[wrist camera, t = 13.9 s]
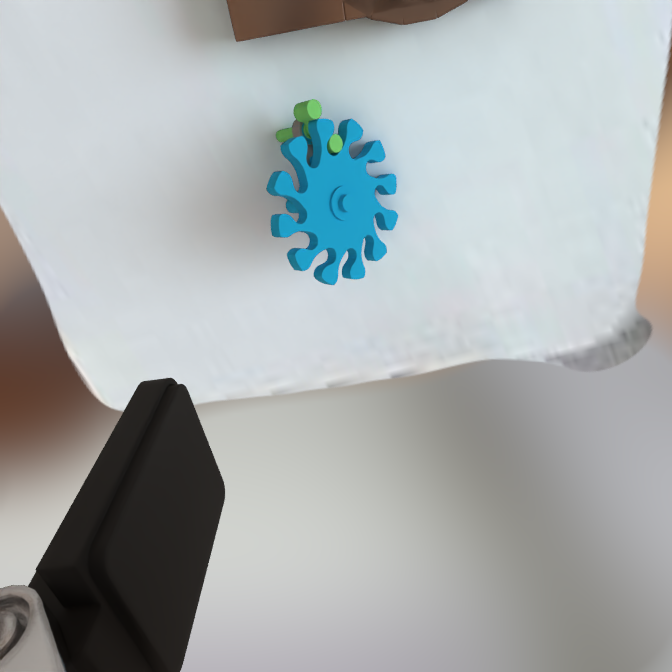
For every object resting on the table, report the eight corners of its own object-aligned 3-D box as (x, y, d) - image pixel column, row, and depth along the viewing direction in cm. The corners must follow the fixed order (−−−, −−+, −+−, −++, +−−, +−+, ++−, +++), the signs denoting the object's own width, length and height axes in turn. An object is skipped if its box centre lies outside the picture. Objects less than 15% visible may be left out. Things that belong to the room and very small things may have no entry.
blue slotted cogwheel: (416, 254, 37) (306, 310, 31) (358, 251, 41) (253, 300, 36) (386, 82, 33) (253, 112, 27) (325, 98, 37) (200, 127, 32)
